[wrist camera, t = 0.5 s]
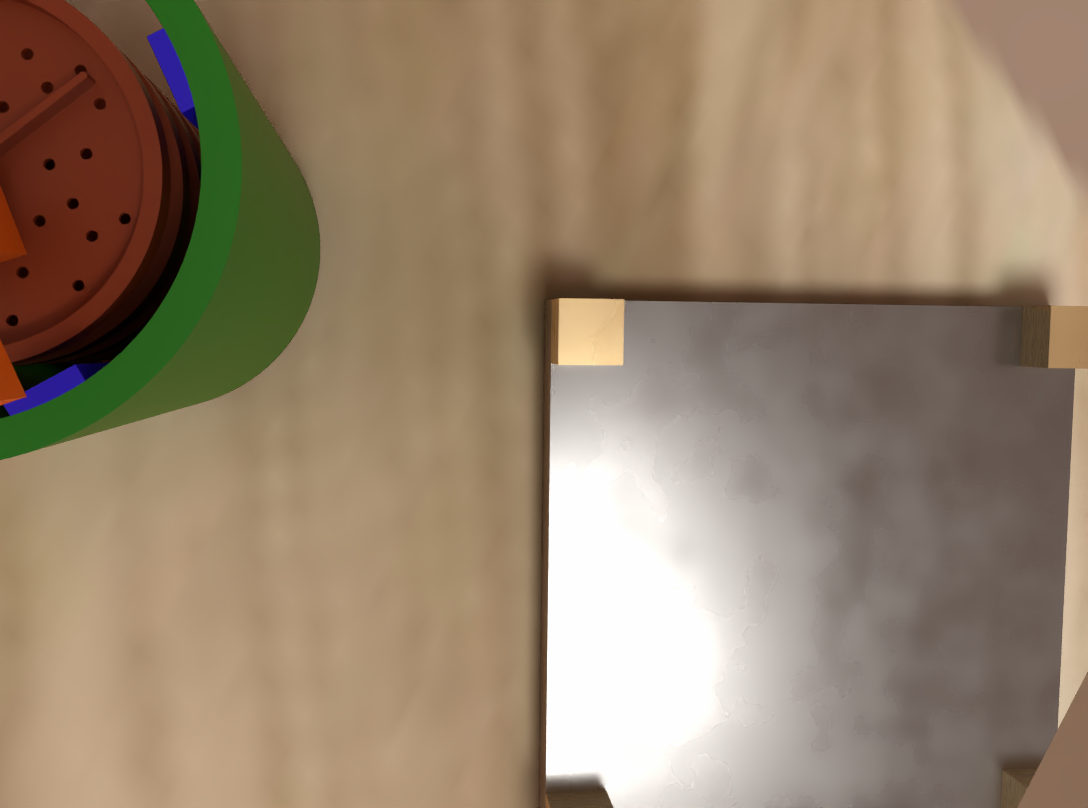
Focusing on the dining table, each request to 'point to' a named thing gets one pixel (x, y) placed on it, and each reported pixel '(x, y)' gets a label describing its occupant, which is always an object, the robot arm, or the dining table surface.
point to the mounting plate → (802, 552)
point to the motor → (137, 226)
